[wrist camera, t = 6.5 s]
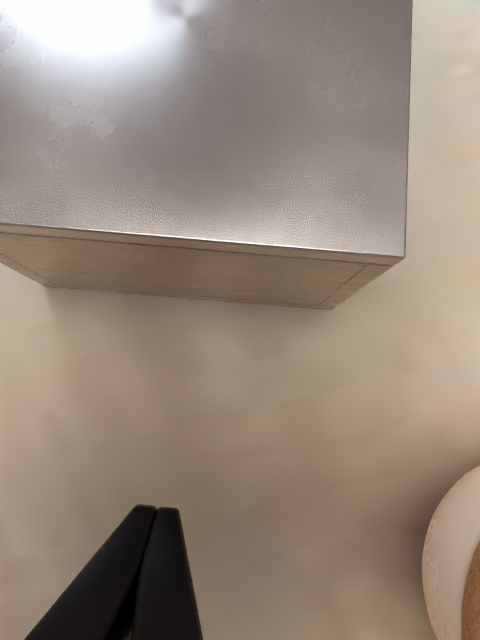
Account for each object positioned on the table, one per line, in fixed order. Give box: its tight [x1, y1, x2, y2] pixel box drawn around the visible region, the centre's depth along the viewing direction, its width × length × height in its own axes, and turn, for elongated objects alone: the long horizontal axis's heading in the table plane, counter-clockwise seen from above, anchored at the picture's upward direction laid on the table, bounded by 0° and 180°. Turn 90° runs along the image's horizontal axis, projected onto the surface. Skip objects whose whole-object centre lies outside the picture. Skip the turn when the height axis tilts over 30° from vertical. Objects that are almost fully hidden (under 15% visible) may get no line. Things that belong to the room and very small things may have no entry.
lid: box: [0, 0, 413, 265], centre depth 14 cm, size 14×14×1 cm
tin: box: [0, 232, 394, 310], centre depth 18 cm, size 13×14×8 cm
